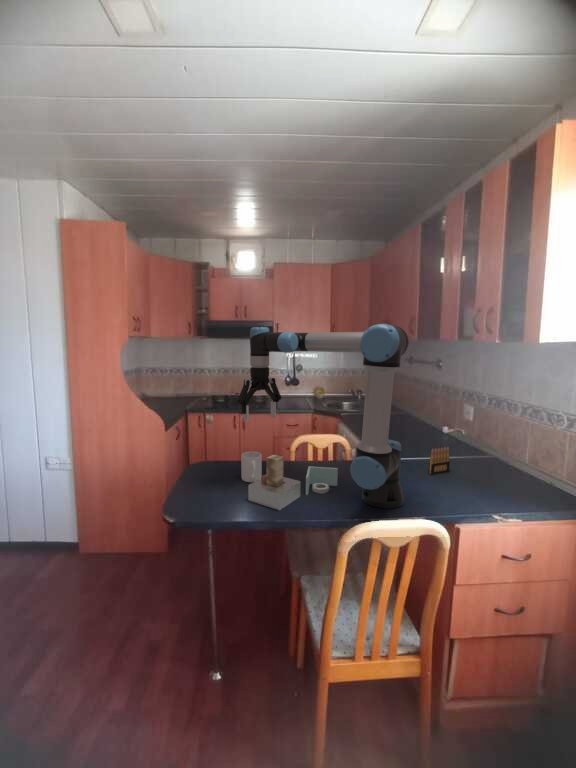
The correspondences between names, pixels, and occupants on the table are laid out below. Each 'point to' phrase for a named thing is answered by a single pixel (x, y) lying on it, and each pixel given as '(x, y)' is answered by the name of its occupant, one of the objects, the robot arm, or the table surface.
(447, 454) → the ammunition clip
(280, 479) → the column
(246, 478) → the mug
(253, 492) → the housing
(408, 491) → the table surface
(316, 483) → the right angle wall
